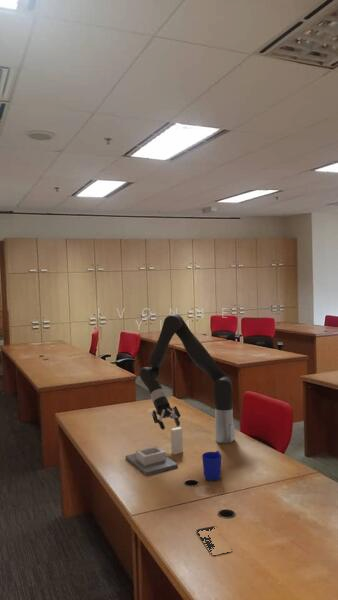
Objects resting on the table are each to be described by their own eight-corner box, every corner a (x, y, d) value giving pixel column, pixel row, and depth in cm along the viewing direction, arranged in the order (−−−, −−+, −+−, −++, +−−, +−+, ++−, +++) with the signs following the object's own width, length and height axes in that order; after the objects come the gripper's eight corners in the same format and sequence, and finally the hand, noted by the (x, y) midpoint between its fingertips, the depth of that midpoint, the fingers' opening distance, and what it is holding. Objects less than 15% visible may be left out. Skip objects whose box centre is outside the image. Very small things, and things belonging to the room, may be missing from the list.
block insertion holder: (177, 467, 209) (177, 455, 208) (146, 475, 201) (146, 463, 200) (155, 451, 228) (154, 440, 227) (125, 458, 220) (125, 447, 220)
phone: (211, 555, 142) (195, 529, 156) (211, 558, 142) (195, 532, 157) (233, 550, 144) (215, 525, 159) (233, 553, 144) (215, 527, 159)
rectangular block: (182, 452, 226) (182, 428, 225) (174, 454, 224) (173, 430, 223) (180, 450, 228) (179, 426, 228) (171, 452, 226) (170, 428, 225)
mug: (227, 472, 202) (226, 450, 201) (218, 483, 191) (217, 460, 190) (209, 469, 205) (209, 447, 205) (199, 480, 194) (199, 457, 194)
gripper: (149, 398, 233) (161, 426, 224) (174, 393, 240) (186, 421, 231) (145, 405, 238) (156, 434, 229) (169, 401, 245) (180, 428, 236)
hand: (171, 427), depth 230 cm, fingers open, 8 cm apart
